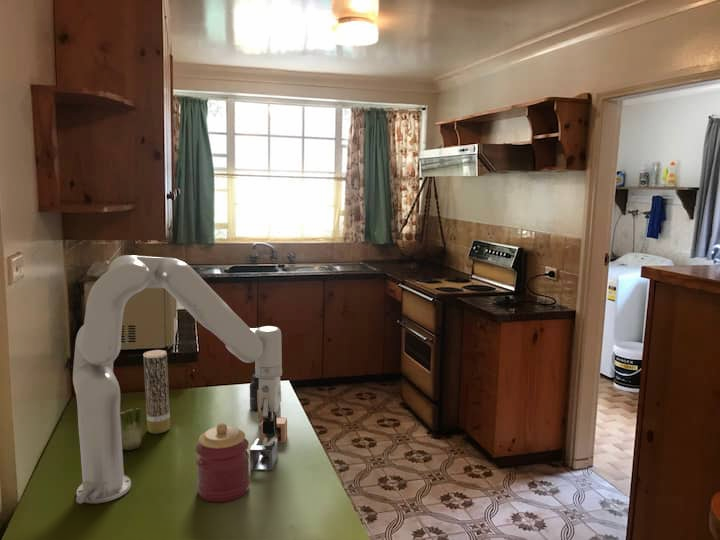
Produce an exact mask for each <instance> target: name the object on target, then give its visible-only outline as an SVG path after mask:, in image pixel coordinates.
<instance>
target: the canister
mask: <svg viewBox="0 0 720 540" xmlns="http://www.w3.org/2000/svg"><path fill="white" fill-rule="evenodd" d="M248 448H249V441H248V440H247V438H246V434H245V432H244V431H243V430H242V429H239V428H237V427H235V426H233V425H227V424H225V423H223V422H221V423H218V425H217V426H214V427H211V428H209V429H207V430H206V431H205V432H203V433H202V434H200V436H199V437H198V443H197V445H196V446H195V452H196V454H197V458H196V461H195V462H196V467H197V468H196V470H197V473H196V474H197V482H196V487H197V488H196V489H197V492H198V495H199V497H200V498H202V499H203V500H205V501H207V502H212V503H213V502H214V503H224V502H230V501H233V500H236V499H238V498H241V497H242V496H244V495H245V494H246V493H247V492H248V491H249V489H250V488H249V487H250V480H251V478H250V475H249V474H250V472H249V471H250V469H249V466H250V464H249V463H250V461H249V460H250V453H248Z"/></svg>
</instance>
